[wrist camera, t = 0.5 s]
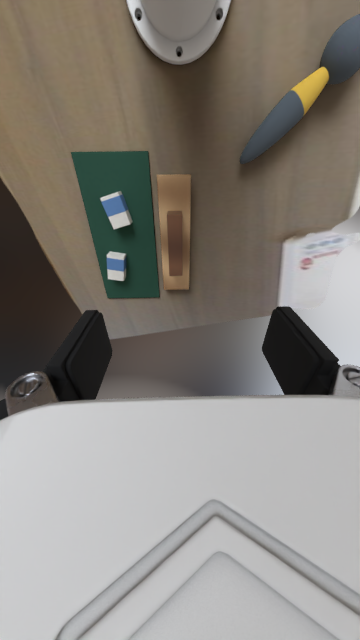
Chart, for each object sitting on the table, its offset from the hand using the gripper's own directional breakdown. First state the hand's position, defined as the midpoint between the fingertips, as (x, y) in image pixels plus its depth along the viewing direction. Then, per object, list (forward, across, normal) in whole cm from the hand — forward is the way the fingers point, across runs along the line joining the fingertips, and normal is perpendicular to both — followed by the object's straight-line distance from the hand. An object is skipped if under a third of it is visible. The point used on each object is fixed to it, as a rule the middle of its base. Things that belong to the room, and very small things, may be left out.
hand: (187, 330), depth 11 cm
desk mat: (+32, +11, +2) cm, 34 cm away
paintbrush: (+32, -17, -16) cm, 40 cm away
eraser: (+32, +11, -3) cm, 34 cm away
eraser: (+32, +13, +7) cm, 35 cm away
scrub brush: (+32, +1, +2) cm, 33 cm away
